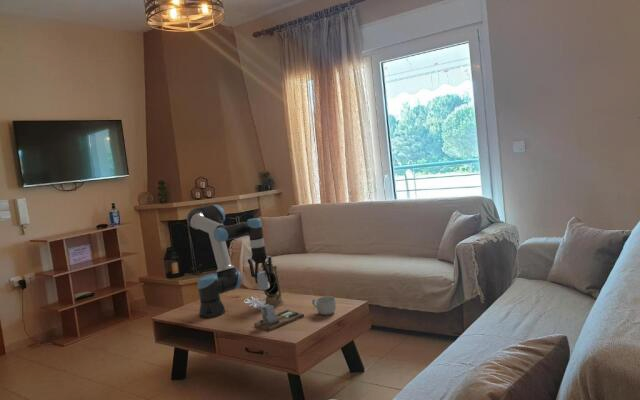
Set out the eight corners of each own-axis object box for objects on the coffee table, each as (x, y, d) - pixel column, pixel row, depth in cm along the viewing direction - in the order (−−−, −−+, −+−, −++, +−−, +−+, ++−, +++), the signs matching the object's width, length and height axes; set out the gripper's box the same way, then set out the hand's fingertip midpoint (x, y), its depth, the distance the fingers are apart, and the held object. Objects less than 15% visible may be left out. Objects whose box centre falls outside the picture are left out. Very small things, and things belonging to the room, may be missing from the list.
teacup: (340, 311, 258) (339, 297, 257) (327, 318, 250) (325, 303, 249) (322, 308, 267) (320, 294, 266) (309, 314, 259) (307, 300, 258)
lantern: (259, 306, 285) (252, 257, 283) (273, 300, 294) (266, 253, 291) (275, 309, 276) (268, 259, 273) (289, 302, 284) (283, 254, 281)
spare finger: (269, 286, 261) (266, 270, 260) (266, 289, 255) (264, 273, 255) (261, 287, 262) (259, 271, 261) (258, 290, 256) (256, 274, 255)
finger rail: (254, 326, 251) (252, 307, 250) (288, 312, 267) (285, 294, 266) (270, 331, 241) (267, 311, 240) (304, 316, 256) (301, 298, 255)
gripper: (274, 243, 259) (280, 284, 261) (244, 247, 262) (250, 287, 263) (271, 246, 252) (278, 288, 254) (240, 249, 254) (247, 291, 256)
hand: (264, 288), depth 259 cm, fingers closed on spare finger, 4 cm apart
